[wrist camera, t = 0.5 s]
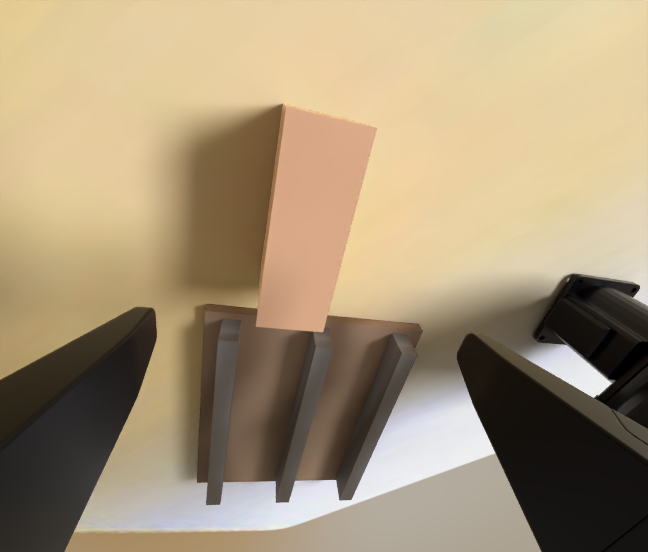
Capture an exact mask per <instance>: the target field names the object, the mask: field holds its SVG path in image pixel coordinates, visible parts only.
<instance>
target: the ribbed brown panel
mask: <svg viewBox="0 0 648 552" xmlns="http://www.w3.org/2000/svg"><path fill="white" fill-rule="evenodd" d="M256 317H257V309H253V308H243V307H232V306H222V305H211V304H207V306H206V309H205V317H204V339H203V361H202V383H201V405H200V427H199V449H198V471H197V483H202V482H208V486H207V500H206V505H220V502H221V494H222V487H223V482H251V481H276V503H278V502H289V499H290V496H291V492H292V489H293V485H294V482H295V481H300V480H336V481H337V487H338V494H339V500H351V499H352V497H353V495H354V493H355V491H356V488H357V486H358V484H359V482H360V480H361V477H362V475H363V473H364V471H365V469H366V467H367V464H368V462H369V460H370V458H371V456H372V453H373V451H374V449H375V447H376V445H377V442H378V440H379V438H380V436H381V434H382V431H383V429H384V427H385V425H386V423H387V420H388V418H389V416H390V414H391V412H392V409H393V407H394V405H395V403H396V401H397V398H398V396H399V394H400V392H401V390H402V388H403V385H404V383H405V381H406V379H407V377H408V374H409V372H410V370H411V368H412V366H413V363H414V361H415V359H416V357H417V353H416V351H415V347H416V345H417V343H418V340H419V338H420V336H421V334H422V331H423V330H422V329H421V327H420V325H419V324H411V323H400V322H390V321H379V320H369V319H358V318H348V317H337V316H327V319H326V323H325V327H324V331H323V332H313V331H301V330H289V329H277V328H264V327H256Z"/></svg>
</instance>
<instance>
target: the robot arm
mask: <svg viewBox="0 0 648 552" xmlns="http://www.w3.org/2000/svg"><path fill="white" fill-rule="evenodd" d="M639 289H640V286H639V285H637V284H635V283H633V282H627V281H621V280H614V279H608V278H601V277H594V276H588V275H581V274H576V275H574V276H573V277H572V278H571V279H570V280H569V282H568V283H567V285H566V286H565V288H564V289H563V291H562V292H561V294H560V295H559V297H558V298H557V300H556V302H555V303H554V305H553V306H552V308H551V309H550V311H549V312H548V314H547V315H546V317H545V318H544V320H543V321H542V323H541V325H540V326H539V328H538V329H537V331H536V332H535V334H534V336H533V338H534V339H535V340H536V341H537V342H542V343H553V344H564V345H568V346H569V347H570V348H571V349H572V350H573V351H575V352H576V353H577V354H578V355H579V356H580V357H582V358H583V359H584V360H585V361H586V362H587V363H589V364H590V365H591V366H592V367H593V368H595V369H596V370H597V371H598V372H599V373H600V374H602V375H603V376H604V377H605V378H606V379H607V380H609V381H610V382H611V383H612V384H611V385H610V386H609V387H608V388H606V389H605V390H604V391H603V392H602V393H601V394H600V395H596V396H595V397H594V398H593V397H591V396H589V395H587V394H586V393H584V392H582V391H580V390H579V389H577V388H575V387H574V386H572V385H570V384H568V383H567V382H565V381H563V380H561V379H560V378H558V377H556V376H555V375H553V374H551V373H549V372H548V371H546V370H544V369H542V368H541V367H539V366H537V365H536V364H534V363H532V362H530V361H529V360H527V359H525V358H523V357H522V356H520V355H518V354H517V353H515V352H513V351H511V350H510V349H508V348H506V347H504V346H503V345H501V344H499V343H498V342H496V341H494V340H492V339H491V338H489V337H487V336H485V335H484V334H481V333H468V334H467V335H466V336H465V338H464V340H463V342H462V344H461V346H460V348H459V350H458V352H457V361H458V364H459V367H460V369H461V372H462V375H463V378H464V381H465V383H466V386H467V389H468V392H469V395H470V397H471V400H472V403H473V405H474V408H475V410H476V412H477V414H478V416H479V419H480V421H481V423H482V425H483V427H484V429H485V431H486V434H487V436H488V438H489V440H490V442H491V444H492V447H493V449H494V451H495V453H496V455H497V457H498V459H499V461H500V464H501V466H502V468H503V470H504V472H505V474H506V477H507V479H508V481H509V483H510V485H511V487H512V489H513V491H514V494H515V496H516V498H517V500H518V502H519V504H520V507H521V509H522V511H523V513H524V515H525V517H526V519H527V522H528V524H529V526H530V528H531V530H532V532H533V535H534V537H535V539H536V541H537V543H538V545H539V547H540V549H541V552H648V306H647V305H645V304H643V303H641V302H639V301H638V300H636V299H634V298H633V297H634V296H635V295H636V293H637V292H638V291H639ZM156 338H157V329H156V315H155V310H154V309H153V308H147V307H135V308H133V309H131V310H129V311H127V312H125V313H123V314H122V315H120V316H118V317H116V318H114V319H112V320H110V321H109V322H107V323H105V324H103V325H101V326H99V327H97V328H96V329H94V330H92V331H90V332H88V333H86V334H84V335H83V336H81V337H79V338H77V339H75V340H73V341H71V342H70V343H68V344H66V345H64V346H62V347H60V348H59V349H57V350H55V351H53V352H51V353H49V354H47V355H46V356H44V357H42V358H40V359H38V360H36V361H34V362H33V363H31V364H29V365H27V366H25V367H23V368H21V369H20V370H18V371H16V372H14V373H12V374H10V375H8V376H7V377H5V378H3V379H1V380H0V552H64V551H65V549H66V547H67V545H68V543H69V540H70V539H71V536H72V534H73V532H74V530H75V528H76V526H77V524H78V522H79V520H80V517H81V515H82V513H83V511H84V509H85V507H86V505H87V503H88V501H89V498H90V496H91V494H92V492H93V490H94V488H95V486H96V484H97V481H98V479H99V477H100V475H101V473H102V471H103V469H104V467H105V465H106V462H107V460H108V458H109V456H110V454H111V452H112V450H113V448H114V446H115V443H116V441H117V439H118V437H119V435H120V433H121V431H122V429H123V426H124V424H125V422H126V420H127V418H128V416H129V414H130V412H131V410H132V407H133V405H134V403H135V401H136V398H137V396H138V393H139V391H140V388H141V385H142V382H143V379H144V376H145V373H146V370H147V367H148V364H149V361H150V358H151V355H152V352H153V349H154V346H155V343H156Z"/></svg>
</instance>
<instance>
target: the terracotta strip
mask: <svg viewBox="0 0 648 552" xmlns="http://www.w3.org/2000/svg"><path fill="white" fill-rule="evenodd" d="M376 130H377V128H375V127H372V126H368V125H365V124H362V123H359V122H355V121H352V120H349V119H345V118H341V117H337V116H333V115H328V114H324V113H320V112H316V111H311V110H307V109H303V108H299V107H295V106H290V105H286V104H283V105H282V113H281V120H280V128H279V135H278V143H277V150H276V158H275V165H274V173H273V180H272V188H271V195H270V203H269V210H268V218H267V225H266V232H265V240H264V247H263V255H262V262H261V270H260V281H259V293H258V305H257V317H256V327H264V328H277V329H289V330H301V331H313V332H323V331H324V327H325V323H326V319H327V316H328V312H329V308H330V304H331V300H332V297H333V293H334V289H335V285H336V281H337V278H338V274H339V270H340V266H341V262H342V259H343V255H344V251H345V247H346V243H347V240H348V236H349V232H350V228H351V224H352V221H353V217H354V213H355V209H356V205H357V202H358V198H359V194H360V190H361V187H362V183H363V179H364V175H365V171H366V168H367V164H368V160H369V156H370V152H371V149H372V145H373V141H374V137H375V133H376Z"/></svg>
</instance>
